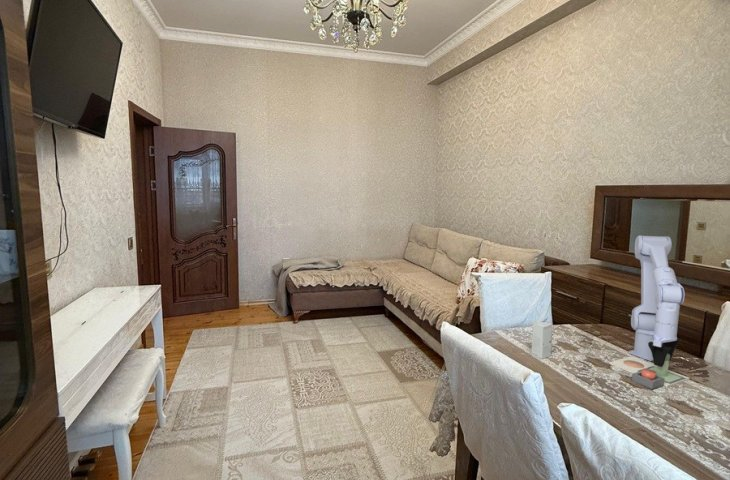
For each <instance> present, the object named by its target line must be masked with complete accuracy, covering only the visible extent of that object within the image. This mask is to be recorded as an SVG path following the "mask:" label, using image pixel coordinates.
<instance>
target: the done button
mask: <svg viewBox="0 0 730 480" xmlns="http://www.w3.org/2000/svg"><path fill="white" fill-rule="evenodd" d="M641 376H642V377H644V378H647V379H649V380H655V377H656V372H655V371H653V370H650V369H642V371H641Z"/></svg>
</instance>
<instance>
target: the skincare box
mask: <svg viewBox="0 0 730 480" xmlns="http://www.w3.org/2000/svg"><path fill="white" fill-rule="evenodd" d="M531 335H532V337H531V338H532V339H531V356H532V357H535V358H537V359H540V360H543V359H546V358H548V357H551V356H552V338H553V323H551V322H546V321H544V320H541V321H537V322H535V323H532V334H531Z"/></svg>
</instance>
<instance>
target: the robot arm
mask: <svg viewBox="0 0 730 480" xmlns="http://www.w3.org/2000/svg"><path fill="white" fill-rule="evenodd" d="M672 244H673V243H672V239H671V237H670V236H667V235H666V236H660V235H659V236H658V235H657V236H655V235H653V236H652V235H640V234H639V235H638V236H636V237H635V241H634V256H635V259H637V260H639V262H640V267H641V269H640V270H641V271H640V272H641V273H640V287H641V288H640V291H641V293H640V298H641V299H640V303H641V304H640V305H638V306H635V307H634V308H633V309H632V311H631V315H630V316H631V317H630V325H631V328H632V329H633V330H634V331H635V334H634V344H633V347H634V348H633V349H631V350H629V351H628V352H627V353H628V354H631V355H633V356H635V357H638V358H640V359H644V360H646V361H650V362H652V363H653V365H656V366H660V367H663V365H664V362H665V358H666V355H667V353H668V354H670V360H669V362H670V361H671V360H672V357H673V355H674V352H675V349H676V347H677V346H678V345H679V343H680V342H681V340H680V339H679V338H678V337H677V334H678V325H679V319H680V318H679V315H680V308H681V305H682V304H684V301H685V289H684V286H682V285H681V284H680V283H679V282H678V281H677V277H676V273H675V271H674V269H673V268H672V267H670V266H669V260H668V255H669V254H670V252H671V251H672V246H673V245H672Z"/></svg>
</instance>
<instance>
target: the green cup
mask: <svg viewBox="0 0 730 480" xmlns="http://www.w3.org/2000/svg"><path fill="white" fill-rule="evenodd" d="M669 360H670V354H668V353H667V355H666V358H665V362H664V365H663V367H660V366H656V365H655V372H656V375H658V376H662V377H667V376H668V370H669V364H670V361H671V360H670V361H669Z"/></svg>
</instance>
